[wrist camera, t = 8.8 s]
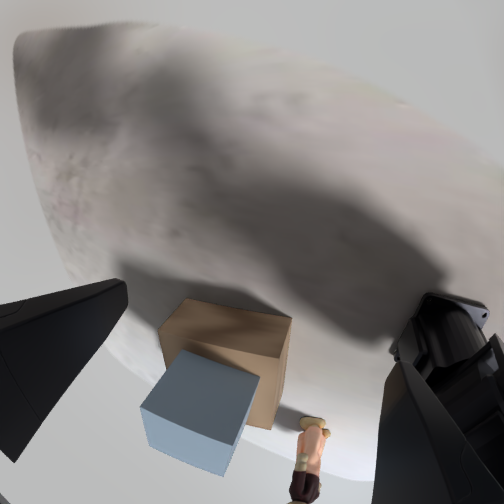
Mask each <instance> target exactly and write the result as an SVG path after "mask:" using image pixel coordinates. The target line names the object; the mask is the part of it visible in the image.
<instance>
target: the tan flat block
mask: <svg viewBox="0 0 504 504" xmlns="http://www.w3.org/2000/svg"><path fill="white" fill-rule="evenodd" d="M291 323H292V318H289V317H283V316H277V315H271V314H265V313H259V312H254V311H248V310H243V309H237V308H232V307H227V306H222V305H217V304H212V303H207V302H202V301H197V300H192V299H188V298H186V299H185V300H184V301H183V302H182V303H181V305H180V306H179V307H178V308H177V309H176V310H175V311H174V312H173V313H172V315H171V316H170V317H169V318H168V319H167V320H166V321H165V322H164V323H163V325H162V326H161V327H160V328H159V329H158V335H159V339H160V344H161V348H162V353H163V357H164V362H165V366H166V370H167V369H168V368H169V366H170V365H171V364H172V362H173V361H174V359H175V358H176V357H177V355H178V354H179V353H180V351H181V350H182V349H183V350H186V351H188V352H191V353H193V354H196V355H199V356H201V357H204V358H207V359H209V360H212V361H215V362H217V363H220V364H223V365H226V366H229V367H232V368H235V369H238V370H240V371H243V372H247V373H250V374H253V375H256V376H259V377H260V381H259V384H258V387H257V390H256V393H255V397H254V400H253V403H252V406H251V409H250V413H249V416H248V419H247V421H246V424H245V425H250V426H254V427H258V428H263V429H267V430H271V428H272V425H273V422H274V419H275V415H276V412H277V409H278V406H279V402H280V399H281V396H282V392H283V386H284V379H285V371H286V364H287V356H288V348H289V340H290V332H291Z"/></svg>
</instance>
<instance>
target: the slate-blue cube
mask: <svg viewBox="0 0 504 504" xmlns="http://www.w3.org/2000/svg"><path fill="white" fill-rule="evenodd" d="M259 381H260V377H259V376H256V375H253V374H250V373H247V372H243V371H240V370H238V369H235V368H232V367H229V366H226V365H223V364H220V363H217V362H215V361H212V360H209V359H207V358H204V357H201V356H199V355H196V354H193V353H191V352H188V351H186V350H183V349H182V350H181V351H180V353H179V354H178V355H177V357H176V358H175V359H174V361H173V362H172V364H171V365H170V366H169V368H168V369H167V370H166V372H165V373H164V374H163V376H162V377H161V379H160V380H159V381H158V383H157V384H156V385H155V387H154V388H153V389H152V391H151V392H150V394H149V395H148V397H147V398H146V399H145V400H144V402H143V403H142V404H141V406H140V410H141V415H142V418H143V423H144V427H145V431H146V435H147V439H148V443H149V446H150V447H153V448H155V449H156V450H158V451H161V452H163V453H165V454H167V455H169V456H171V457H174V458H176V459H178V460H180V461H183V462H185V463H187V464H190V465H192V466H195V467H197V468H200V469H202V470H205V471H208V472H210V473H213V474H216V475H219V476H222V477H224V474H225V472H226V470H227V467H228V465H229V463H230V460H231V458H232V456H233V453H234V451H235V448H236V446H237V443H238V441H239V439H240V436H241V434H242V431H243V429H244V426H245V424H246V421H247V419H248V416H249V413H250V409H251V406H252V403H253V400H254V397H255V393H256V390H257V387H258V384H259Z"/></svg>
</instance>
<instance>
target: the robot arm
mask: <svg viewBox="0 0 504 504" xmlns="http://www.w3.org/2000/svg"><path fill="white" fill-rule="evenodd" d="M429 298H431V300H430V301H429V302H427V300H428V299H429ZM127 306H128V294H127V285H126V283H125V282H124V281H122V280H120V279H117V278H113V279H109V280H105V281H101V282H96V283H92V284H88V285H84V286H79V287H75V288H71V289H67V290H63V291H58V292H54V293H50V294H46V295H42V296H38V297H33V298H29V299H25V300H20V301H17V302H12V303H7V304H2V305H0V450H1V451H2V452H3V453H4V454H5V455H6V456H7V457H8V458H9V459H10V460H11V461H12V462H13V463H15V462H16V461H17V460H18V458H19V456H20V455H21V453H22V452H23V450H24V449H25V447H26V446H27V444H28V443H29V441H30V440H31V439H32V437H33V436H34V434H35V433H36V431H37V430H38V429H39V427H40V426H41V424H42V422H43V421H44V420H45V418H46V417H47V416H48V414H49V413H50V411H51V410H52V409H53V407H54V406H55V405H56V403H57V402H58V401H59V399H60V398H61V397H62V395H63V394H64V393H65V391H66V390H67V389H68V387H69V386H70V385H71V383H72V382H73V381H74V379H75V378H76V377H77V375H78V374H79V373H80V372H81V370H82V369H83V368H84V366H85V365H86V364H87V363H88V361H89V360H90V359H91V358H92V356H93V355H94V354H95V352H96V351H97V350H98V349H99V347H100V346H101V345H102V344H103V342H104V341H105V340H106V338H107V337H108V335H109V334H110V332H111V331H112V329H113V328H114V326H115V325H116V323H117V322H118V320H119V319H120V317H121V316H122V314H123V313H124V311H125V310H126V308H127ZM483 313H485V314H484V315H482V314H483ZM488 317H489V310H488V309H487V308H486V307H483V306H479V305H475V304H472V303H468V302H464V301H460V300H457V299H453V298H449V297H445V296H442V295H438V294H434V293H426V294H425V295H424V296H423V298H422V300H421V302H420V304H419V306H418V309H417V311H416V313H415V315H414V316H413V317H412V318H410V320H409V322H408V324H407V326H406V328H405V330H404V332H403V334H402V336H401V338H400V340H399V342H398V348H397V350H396V351H395V353H394V361H395V362H397V363H396V364H395V366H394V367H393V369H392V371H391V372H390V374H389V376H388V377H387V379H386V382H385V386H384V394H383V402H382V409H381V415H380V422H379V431H378V447H377V460H376V470H375V480H374V489H373V496H372V503H371V504H504V343H503V342H502V340H501V339H500V338H499V337H498V336H497V334H496V333H495V334H494V335H493V336H492V337H491V338H490V339H489V341H488V342H487V340H486V338H485V336H484V334H483V332H482V330H481V329H482V328H483V326H484V324H485V322H486V320H487V319H488ZM398 356H400V357H398ZM0 504H10V503H9V502H8V501H7V500H6V499H5V498H4V497H3V496H2V495H1V494H0Z"/></svg>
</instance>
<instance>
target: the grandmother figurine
mask: <svg viewBox="0 0 504 504" xmlns="http://www.w3.org/2000/svg"><path fill="white" fill-rule="evenodd" d="M325 424H326V422H325V420H323V419H319V418H312V417H303V418H301V419H300V426H301V427H302V428H303V429H304V430H306V431H305V432H303V433H300V434H299V436H298V443H297V458H296V464H295V469H294V471H293V476H292V482H291V485H290V488H289V493H290V495H291V499H292V502H289V503H288V504H310V503H312V502H314V500H316V499H317V498H318V497H319V494H320V488H321V483H320V482H319V472H320V465H321V460H320V458H321V455H322V452H323V449H324V445H325V441H326V438H328V437H329V436H330V435H331V433H330V431H329V430H326V429H322V428H323V427H324V426H325Z"/></svg>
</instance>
